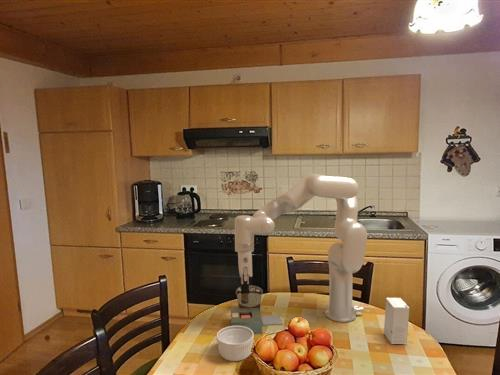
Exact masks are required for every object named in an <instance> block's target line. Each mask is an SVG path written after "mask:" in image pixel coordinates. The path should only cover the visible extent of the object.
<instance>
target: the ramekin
mask: <svg viewBox="0 0 500 375" xmlns="http://www.w3.org/2000/svg"><path fill="white" fill-rule="evenodd" d="M254 338H255V334H254V333H253V331H252V330H251V329H249V328H247V327H244V326H231V325H230V326H229V325H228V326H226V327H223V328H221V329H219V330H218V332H217V333H216V342H217V349H218V352H219V355H220V356H221V357H222V358H223V359H224V360H226V361H229V362H238V361H239V362H240V361H243V360H246V359H247V358H248V357H250V355H251V354H252V352H251V348H252V349H253V347H252V346H253V343H254V340H255V339H254Z"/></svg>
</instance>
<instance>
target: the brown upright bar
mask: <svg viewBox="0 0 500 375" xmlns="http://www.w3.org/2000/svg"><path fill="white" fill-rule="evenodd" d="M243 276H244V275H243ZM243 279H244V278H243ZM240 280H241V282H240V285H241V284H242V278H241V277H240ZM241 303H242V304H247V303H249V298H248V294H241Z"/></svg>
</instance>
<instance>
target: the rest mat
mask: <svg viewBox="0 0 500 375" xmlns="http://www.w3.org/2000/svg"><path fill="white" fill-rule="evenodd" d="M261 318H262V327H265V326H266V327H267V326H280V325H283V321H282V318H281V315H280V314H266V315H262V314H261Z"/></svg>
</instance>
